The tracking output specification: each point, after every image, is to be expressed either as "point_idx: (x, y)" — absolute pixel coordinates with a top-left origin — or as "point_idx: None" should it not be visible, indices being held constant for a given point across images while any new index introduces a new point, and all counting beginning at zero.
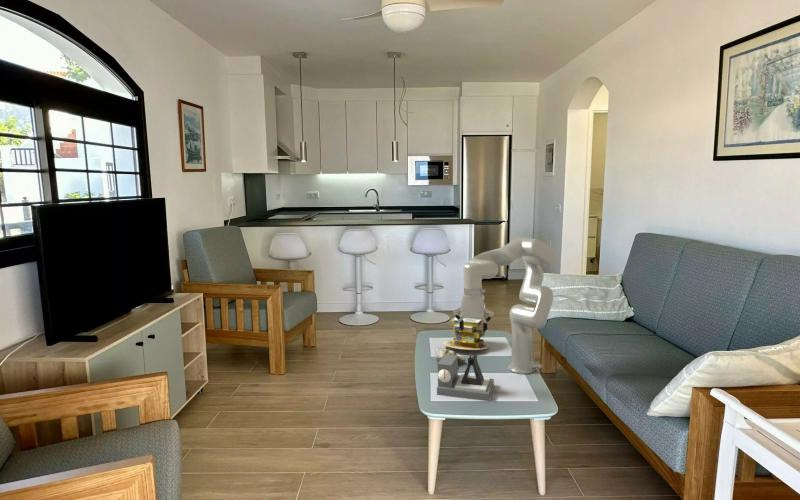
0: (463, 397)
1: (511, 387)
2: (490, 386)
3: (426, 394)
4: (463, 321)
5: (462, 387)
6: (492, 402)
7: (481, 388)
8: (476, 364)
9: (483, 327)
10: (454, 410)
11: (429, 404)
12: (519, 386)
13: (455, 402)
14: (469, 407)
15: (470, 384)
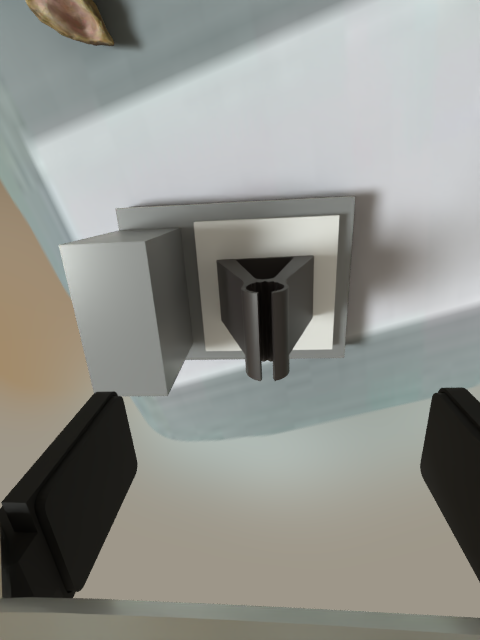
0: None
1: (428, 192)
2: (345, 287)
3: None
4: (58, 494)
5: (237, 350)
6: (352, 351)
7: (314, 340)
8: (289, 317)
9: (461, 537)
10: (241, 430)
11: (156, 415)
12: (468, 167)
13: (229, 383)
14: (281, 402)
15: None
